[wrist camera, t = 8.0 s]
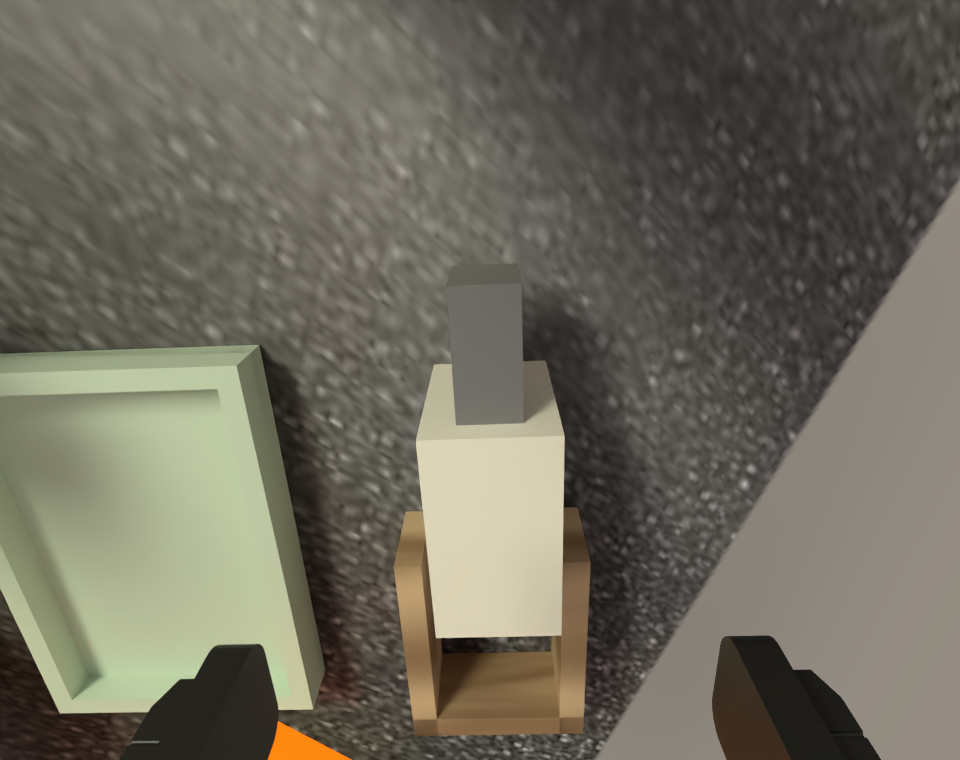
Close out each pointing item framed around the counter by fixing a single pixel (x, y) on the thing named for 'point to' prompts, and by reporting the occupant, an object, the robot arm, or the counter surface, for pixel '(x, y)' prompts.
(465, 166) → the counter surface
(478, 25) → the counter surface
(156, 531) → the tray
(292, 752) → the orange juice
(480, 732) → the dock
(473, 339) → the cream and grey blocks
